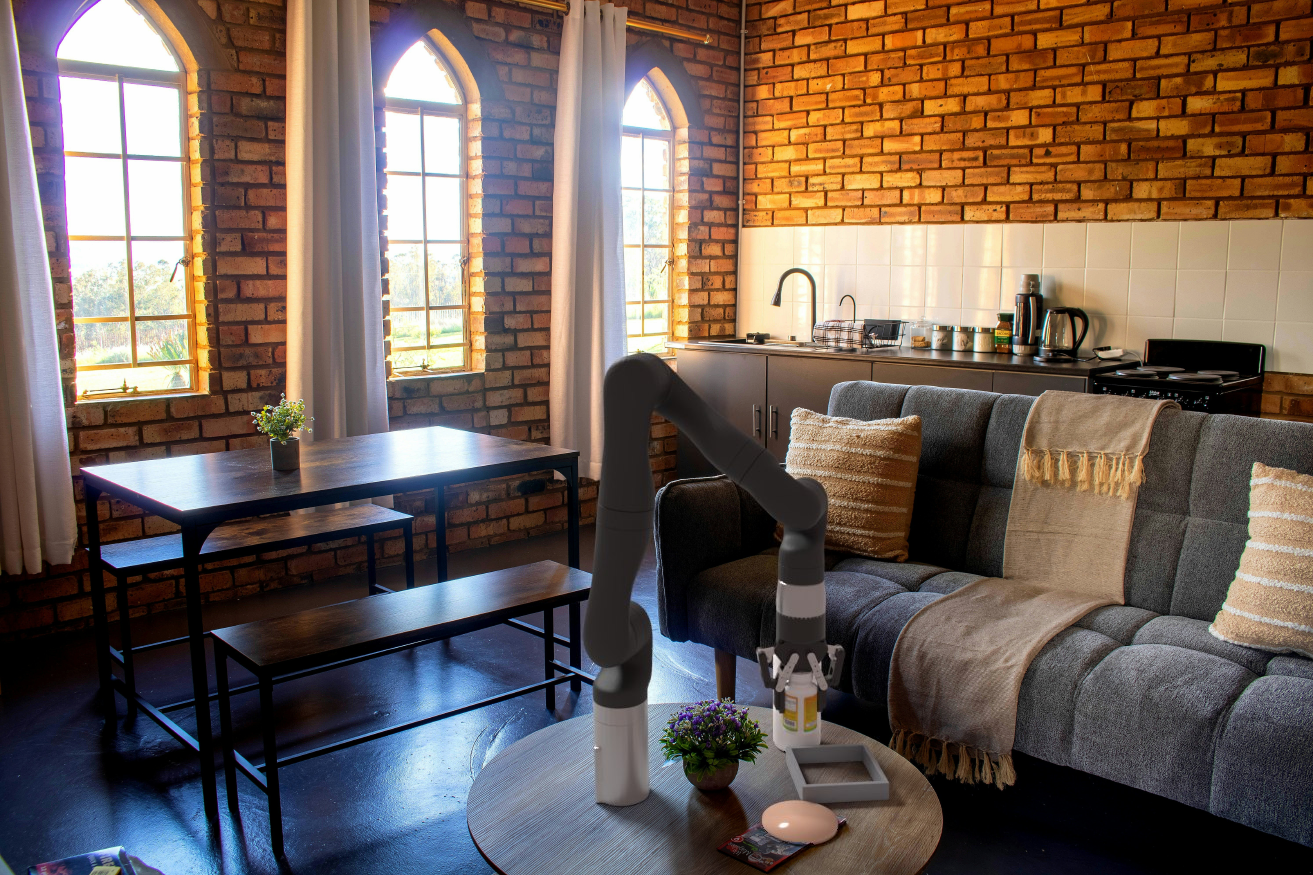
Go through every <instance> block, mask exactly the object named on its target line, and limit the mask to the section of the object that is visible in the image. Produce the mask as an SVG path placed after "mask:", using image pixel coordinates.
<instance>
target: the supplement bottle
mask: <svg viewBox="0 0 1313 875" xmlns="http://www.w3.org/2000/svg"><path fill="white" fill-rule="evenodd" d="M812 680H813V670H812V672H804V671H800V672H793V673H791V675H790V678H789V679H788V680H787V682H786V684H785V686H784V689H783V690H784V714H783V729H784V730H785V731H786V732H788V733H790V734H793V735H809V734H812V733H814V732H815V731H816V729H817V686H816V684H815V683H814V682H813V681H812Z"/></svg>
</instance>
